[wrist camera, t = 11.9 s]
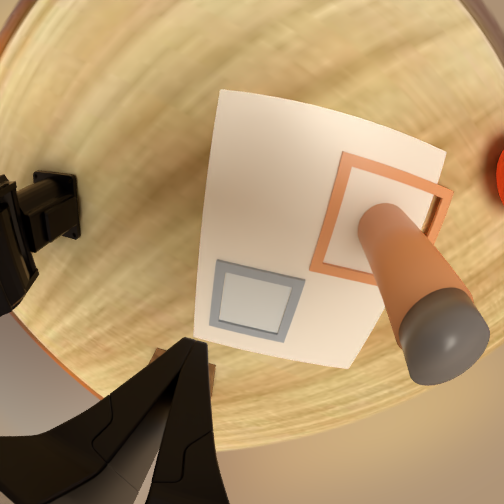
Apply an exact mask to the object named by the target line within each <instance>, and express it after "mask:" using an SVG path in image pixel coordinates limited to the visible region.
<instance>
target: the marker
mask: <svg viewBox="0 0 504 504" xmlns="http://www.w3.org/2000/svg"><path fill="white" fill-rule="evenodd" d="M358 238H359V241H360V243H361V245H362V248H363V250H364V253H365V255H366V257H367V260H368V262H369V265H370V267H371V270H372V273H373V275H374V278H375V280H376V283H377V286H378V288H379V291H380V294H381V297H382V299H383V302H384V305H385V308H386V311H387V314H388V317H389V320H390V323H391V326H392V329H393V332H394V335H395V338H396V342H397V344H398V346H399V347H400V348H401V349H402V350H403V353H404V356H405V360H406V363H407V367H408V370H409V374H410V377H411V379H412V380H413V381H414V382H415V383H417V384H420V385H437V384H441V383H444V382H447V381H449V380H452V379H454V378H455V377H457V376H459V375H461V374H462V373H464V372H465V371H466V370H468V369H469V368H470V367H471V366H472V365H473V364H474V363H475V362H476V361H477V360H478V359H479V358H480V356H481V355H482V354H483V352H484V350H485V349H486V347H487V344H488V341H489V337H490V331H489V327H488V325H487V324H486V322H485V320H484V319H483V317H482V316H481V314H480V313H479V311H478V309H477V308H476V306H475V305H474V302H473V297H472V295H471V293H470V291H469V290H468V289H467V287H466V286H465V284H464V283H463V282H462V280H461V279H460V278H459V276H458V275H457V274H456V272H455V271H454V270H453V269H452V267H451V266H450V265H449V263H448V262H447V261H446V260H445V258H444V257H443V256H442V255H441V253H440V252H439V251H438V250H437V249H436V247H435V246H434V245H433V244H432V243H431V241H430V240H429V239H428V238H427V237H426V236H425V235H424V233H423V232H422V231H421V230H420V229H419V228H418V227H417V226H416V224H415V223H414V222H413V221H412V220H411V219H410V218H409V217H408V216H407V215H406V214H405V213H404V212H403V210H402V209H400V208H399V207H398V206H396V205H394V204H390V203H381V204H377V205H374V206H373V207H371V208H369V209H368V210H367V211H366V212H365V213H364V214H363V216H362V217H361V219H360V221H359V224H358Z"/></svg>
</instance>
